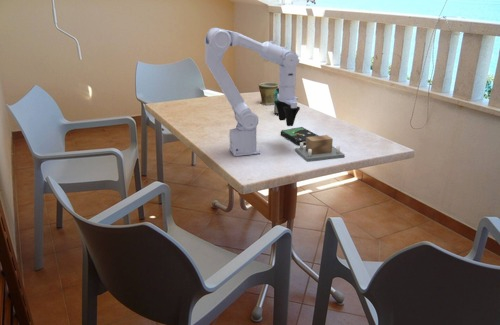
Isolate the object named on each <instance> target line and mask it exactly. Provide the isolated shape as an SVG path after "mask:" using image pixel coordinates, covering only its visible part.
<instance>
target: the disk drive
mask: <svg viewBox="0 0 500 325" xmlns="http://www.w3.org/2000/svg"><path fill="white" fill-rule="evenodd" d="M280 136H281V137H283V138H285V139H286V140H288V141H290V143H293V144H295V145H297V146H298V147H300V142H303V146H306V137H312V136H320V135H318V134H317V133H314V132H312V131H311V130H309V129H307V128H304V127H302V126H298V127H292V128H288V129H281V131H280Z"/></svg>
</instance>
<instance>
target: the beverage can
mask: <svg viewBox="0 0 500 325" xmlns="http://www.w3.org/2000/svg"><path fill="white" fill-rule="evenodd" d="M277 94H279V87H278V88H277V89H276V92H275V101H278V99H277ZM273 106H274V107H273V108H274V110H273V111H274V112H273V113H274V114H275V115H276V116H278V111H277V107H276V105H275V103H274V104H273Z"/></svg>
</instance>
